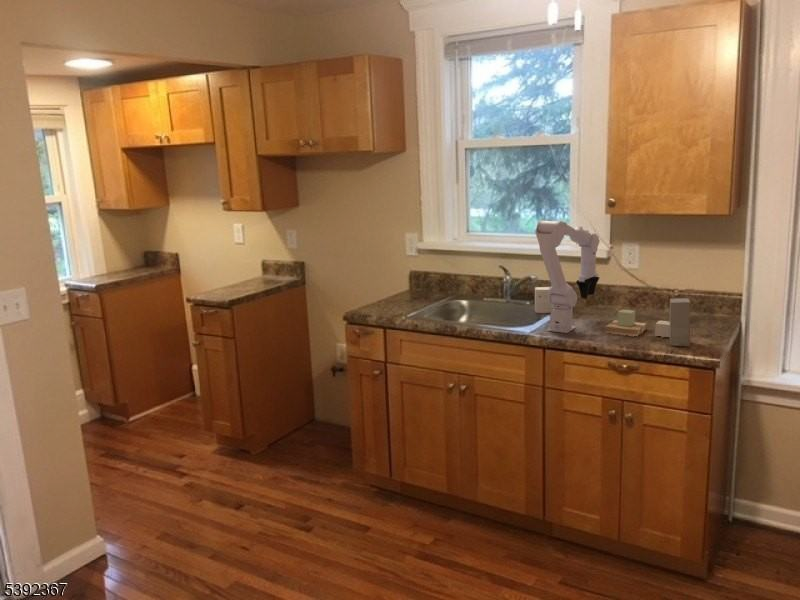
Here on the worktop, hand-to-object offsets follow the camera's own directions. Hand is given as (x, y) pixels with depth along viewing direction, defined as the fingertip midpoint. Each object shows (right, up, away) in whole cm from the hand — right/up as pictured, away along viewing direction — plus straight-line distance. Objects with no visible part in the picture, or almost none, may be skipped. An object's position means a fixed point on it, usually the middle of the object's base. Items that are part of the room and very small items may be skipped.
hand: (587, 296), depth 262 cm
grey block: (+22, -15, -23) cm, 35 cm away
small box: (-13, -7, +21) cm, 26 cm away
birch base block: (+10, -14, -14) cm, 23 cm away
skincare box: (+23, -17, -33) cm, 43 cm away
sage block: (+10, -11, -15) cm, 21 cm away
